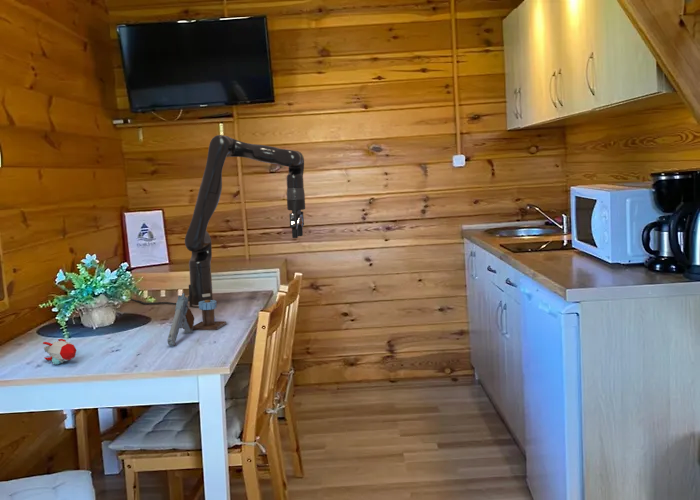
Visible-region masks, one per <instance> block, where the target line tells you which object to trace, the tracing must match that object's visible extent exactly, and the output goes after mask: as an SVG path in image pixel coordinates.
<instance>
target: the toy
mask: <svg viewBox="0 0 700 500" xmlns="http://www.w3.org/2000/svg"><path fill="white" fill-rule="evenodd" d="M42 345H46V346H44V347H43V349H44V352H45V353H47V354H48V355H49V356H48V357H43V359H44V360H46V361H51V362H52V364H53V365H56V366H57V365H60V364H63V363H64V362H68V361H70V360H72V359H74V358H75V357H76V354H77V349H76V348H77V347H76V346H75V344H73V343H72V342H69V341H67V340H65V339H63V338H59V339H57V341H54V342H52V343H51V342H48V341H43V342H42Z"/></svg>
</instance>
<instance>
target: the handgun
mask: <svg viewBox="0 0 700 500" xmlns="http://www.w3.org/2000/svg"><path fill="white" fill-rule="evenodd" d="M175 303H176V305H175V309H174V311H175V312H174V316H173V319H172V323H171V327H170V330H169V333H168V337H167V344H168V346H170V347H175V345H176V341H177V338H178V334H179V332H180V329H183V330H184V331H183V333H184V334H191V333H192V332H193V330H192V329H193V326H194V325H195V316H194V314H193V313H192V310H191V308H190V305H189V302H188V296H186V294H185V292H183V293H181V295H178V296H177V300H176V302H175Z"/></svg>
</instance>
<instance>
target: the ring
mask: <svg viewBox="0 0 700 500" xmlns="http://www.w3.org/2000/svg"><path fill="white" fill-rule="evenodd" d="M217 304H218V303H217V300H215V299H213V300H210V302H207V303H205V301H200V302H199V307H198V309H199V311H202V310H211V309H214V310H215V309H217V308H218V305H217Z"/></svg>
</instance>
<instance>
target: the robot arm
mask: <svg viewBox="0 0 700 500" xmlns="http://www.w3.org/2000/svg"><path fill="white" fill-rule="evenodd" d="M227 158H244V159H250V160H253V161H257V162H259V163H266V164H271V165H272V164H273V165H279V166H283V167H287V168H288V172H287V175H286V208H287V210H288V211H291V213H289V228H290V229H291V237H292V239H298V238H299V237H303V236H304V231H303V229H304V228H303V227H304V225H305V220H304V210H305V209H306V195H305V188H304V187H305V185H304V184H305V183H304V172H305V171H304V170H305V157H304V155H303V153H302V151H299V150H292V149H286V148H279V147H276V146H272V145H266V144H265V145H264V144H258V143H257V144H256V143H248V142H245V141H241V140H237V139H235V138H232V137H230V136H228V135H223V134H217V135H215V136H213V137H212V138H211V139H210V141H209V145H208V151H207V157H206V164H205V167H204V171H203V174H202V178H201V182H200V185H199V189H198V193H197V197H196V201H195V205H194V209H193V213H192V216H191V217H192V218H191V221H190V224H189V226H188V229H187V231H186V234H185V236H184V244H185V248H186V249H187V250H188V251H189V252H191V257H190V259H188V260H189V261H188V268H189V271H188V272H189V284H188V296H187V298H188V303H189V307H193V308H199V302H200V301H205V300H214V297H213V296H214V294H213V281H212V280H213V279H212V265H211V264H212V263H211V261H212V256H213V251H212V250H213V249H212V238H211V235H210V233H209V232H208V231H207V228H208V225H209V222H210V220H211V218H212V216H213V215H214V213H215V211H216V209H217V207H218V205H219V203H220V199H221V195H222V190H223V168H224V165H225V161H226V159H227ZM130 299H131V300H129V301H130V302H131V301H132V302H134V303H140V304H143V305H165V304H168V305H175V306H176V303H177V302H170V301H157V302H155V301H153V302H144V301H142V300H138V299H134V298H130Z"/></svg>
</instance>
